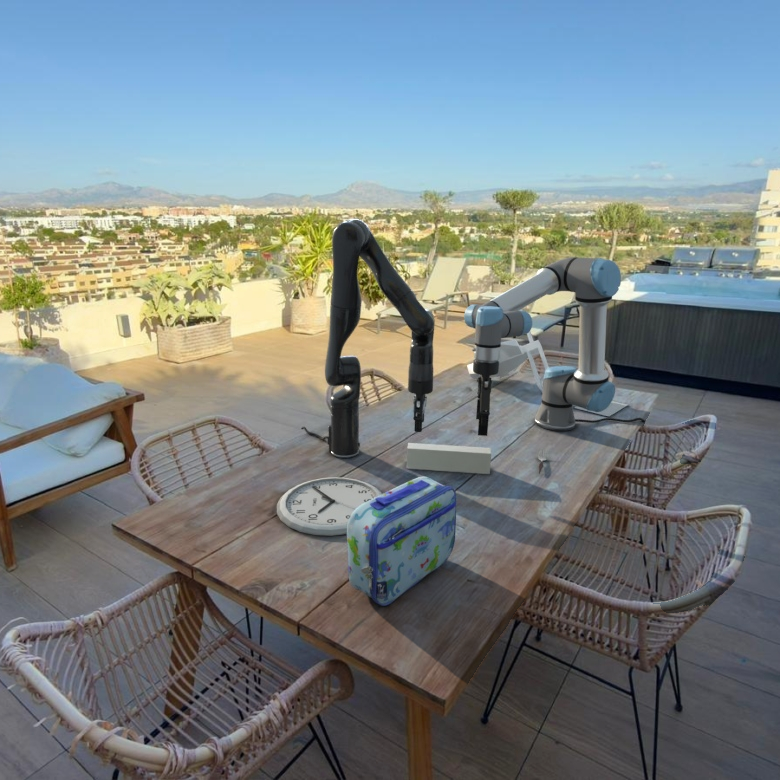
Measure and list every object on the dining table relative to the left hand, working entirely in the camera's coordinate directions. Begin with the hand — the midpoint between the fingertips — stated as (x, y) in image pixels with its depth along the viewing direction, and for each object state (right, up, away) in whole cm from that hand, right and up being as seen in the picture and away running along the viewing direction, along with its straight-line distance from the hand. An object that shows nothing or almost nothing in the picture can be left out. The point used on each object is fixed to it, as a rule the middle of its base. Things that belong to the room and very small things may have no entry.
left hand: (419, 426), depth 162 cm
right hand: (+19, 0, -2) cm, 19 cm away
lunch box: (-6, -29, -49) cm, 57 cm away
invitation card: (+82, +4, +64) cm, 104 cm away
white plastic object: (+47, +13, +91) cm, 103 cm away
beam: (+9, -13, +4) cm, 17 cm away
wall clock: (-25, -20, -20) cm, 38 cm away
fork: (+40, -13, +7) cm, 43 cm away
